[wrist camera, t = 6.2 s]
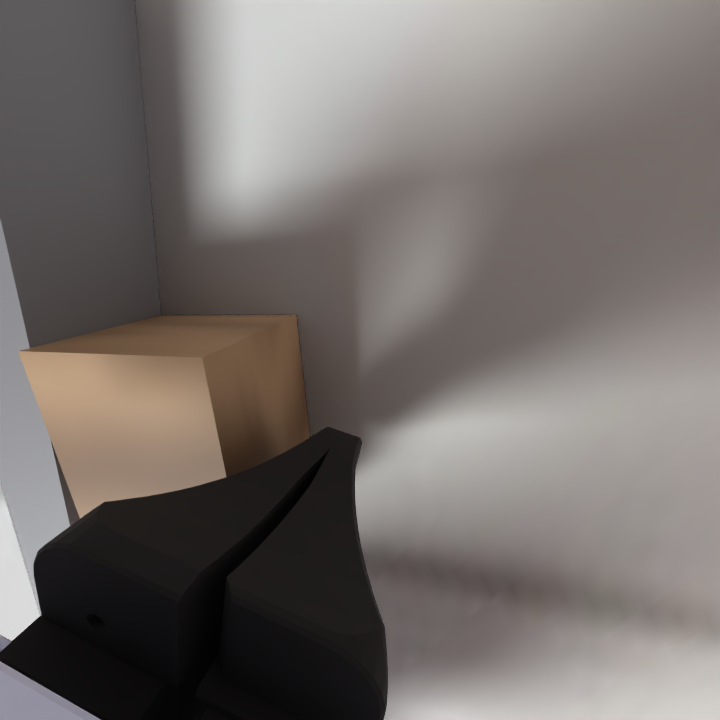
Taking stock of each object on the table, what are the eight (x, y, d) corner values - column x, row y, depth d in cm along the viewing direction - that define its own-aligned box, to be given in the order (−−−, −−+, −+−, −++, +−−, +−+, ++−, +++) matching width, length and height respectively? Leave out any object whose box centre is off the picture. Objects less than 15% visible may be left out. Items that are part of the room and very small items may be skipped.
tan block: (317, 500, 15) (254, 612, 11) (199, 482, 17) (100, 573, 12) (296, 314, 13) (202, 357, 8) (160, 315, 14) (18, 351, 10)
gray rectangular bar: (185, 560, 19) (100, 659, 15) (140, 543, 20) (45, 633, 16) (140, -2, 11) (-88, -173, 6) (65, -1, 12) (-192, -156, 7)
